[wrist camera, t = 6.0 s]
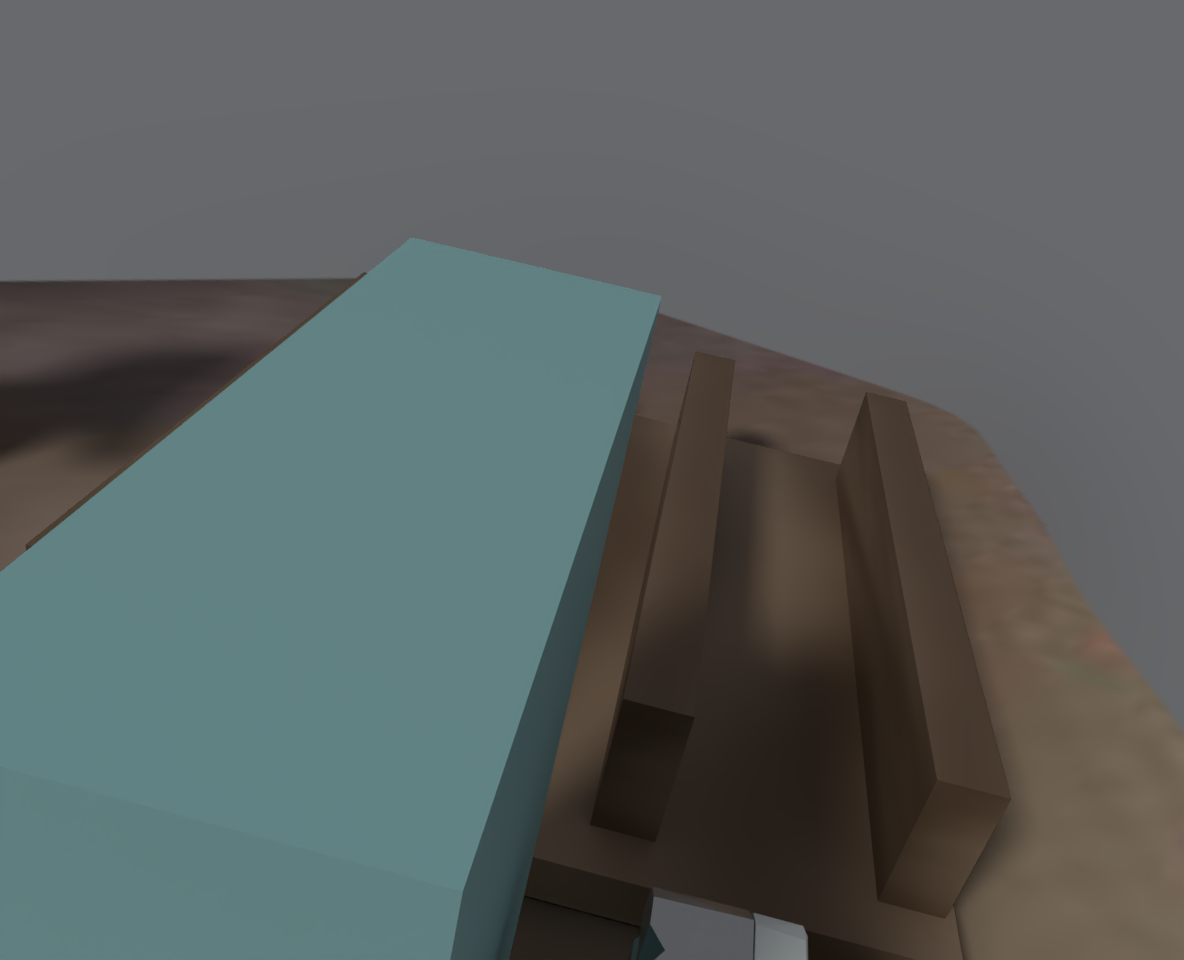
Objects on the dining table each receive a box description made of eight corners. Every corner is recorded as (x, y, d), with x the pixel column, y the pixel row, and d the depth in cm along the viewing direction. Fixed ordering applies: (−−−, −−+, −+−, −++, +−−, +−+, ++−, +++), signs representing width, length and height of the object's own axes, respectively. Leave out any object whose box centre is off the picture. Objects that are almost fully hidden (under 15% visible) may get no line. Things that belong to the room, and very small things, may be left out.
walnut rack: (-2, 753, 18) (-26, 574, 16) (360, 376, 34) (369, 261, 32) (944, 1008, 17) (1036, 850, 15) (867, 500, 33) (909, 389, 31)
